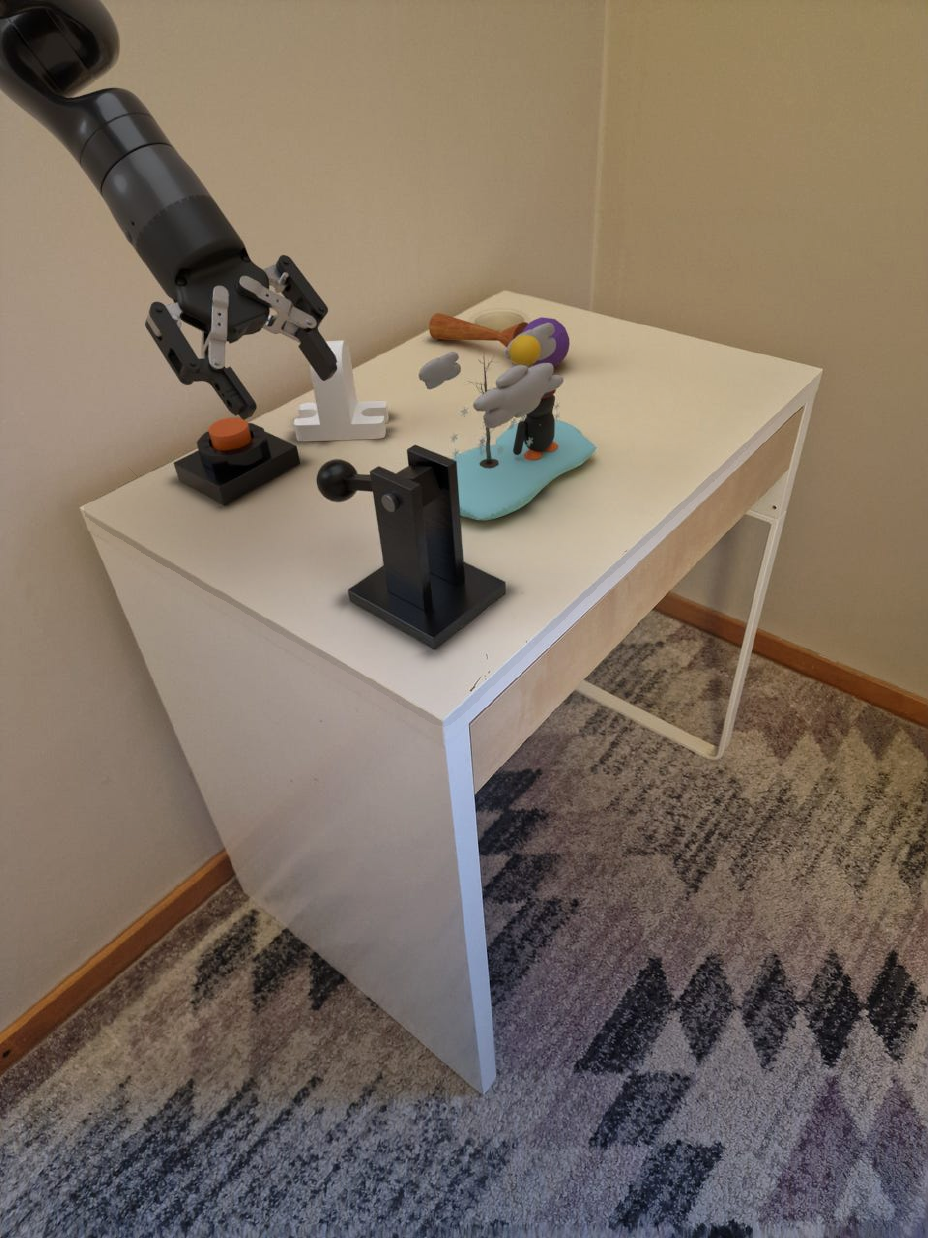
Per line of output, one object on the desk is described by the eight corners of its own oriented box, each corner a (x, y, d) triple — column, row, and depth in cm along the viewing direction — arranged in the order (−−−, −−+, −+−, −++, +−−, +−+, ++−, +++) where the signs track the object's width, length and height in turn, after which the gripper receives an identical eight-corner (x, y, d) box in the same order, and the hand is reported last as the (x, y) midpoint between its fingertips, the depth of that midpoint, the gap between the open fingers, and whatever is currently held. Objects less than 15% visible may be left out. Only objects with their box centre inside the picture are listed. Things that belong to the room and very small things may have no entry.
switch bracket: (349, 600, 73) (324, 470, 65) (421, 550, 78) (407, 423, 69) (434, 649, 68) (420, 515, 59) (506, 592, 73) (502, 461, 64)
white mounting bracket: (304, 418, 98) (287, 334, 92) (389, 415, 98) (378, 330, 91) (295, 441, 94) (277, 355, 88) (384, 438, 94) (373, 351, 87)
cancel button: (228, 455, 86) (224, 440, 84) (204, 444, 88) (200, 428, 87) (259, 439, 88) (256, 424, 87) (235, 428, 90) (232, 413, 89)
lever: (317, 507, 74) (301, 469, 72) (347, 489, 76) (333, 451, 74) (418, 519, 64) (403, 475, 63) (450, 498, 66) (436, 455, 65)
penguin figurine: (538, 424, 94) (538, 285, 84) (616, 456, 88) (625, 311, 78) (403, 501, 84) (385, 354, 74) (481, 542, 78) (472, 388, 68)
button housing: (224, 506, 85) (214, 471, 83) (178, 480, 90) (167, 447, 87) (300, 463, 91) (293, 430, 88) (254, 441, 95) (246, 409, 92)
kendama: (451, 299, 113) (580, 316, 102) (451, 345, 116) (576, 367, 105) (421, 305, 109) (552, 324, 98) (422, 353, 112) (549, 377, 101)
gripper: (102, 217, 62) (234, 406, 63) (258, 171, 69) (373, 340, 71) (89, 278, 68) (210, 448, 69) (233, 229, 76) (339, 384, 77)
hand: (292, 393), depth 70 cm, fingers open, 8 cm apart
